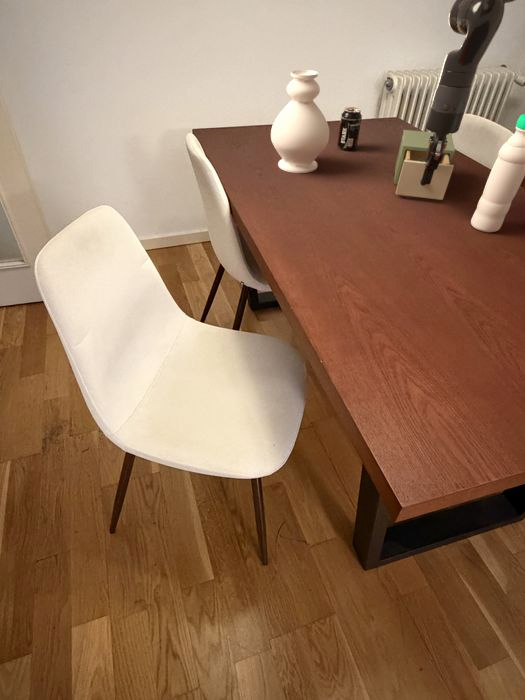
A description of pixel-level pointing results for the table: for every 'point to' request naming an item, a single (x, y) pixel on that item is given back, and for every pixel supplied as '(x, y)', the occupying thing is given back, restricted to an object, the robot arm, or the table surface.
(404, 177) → the drawer
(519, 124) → the water bottle
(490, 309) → the table surface
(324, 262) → the table surface
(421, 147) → the cabinet
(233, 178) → the table surface
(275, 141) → the decorative vase
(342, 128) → the beverage can
